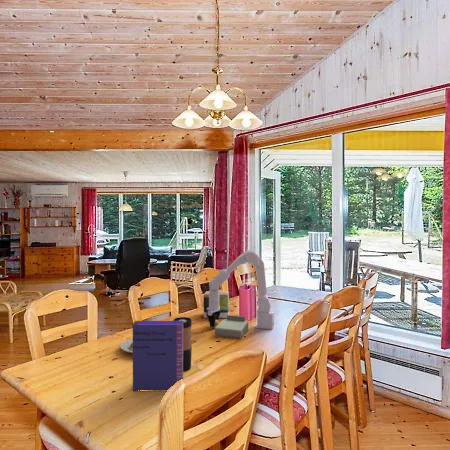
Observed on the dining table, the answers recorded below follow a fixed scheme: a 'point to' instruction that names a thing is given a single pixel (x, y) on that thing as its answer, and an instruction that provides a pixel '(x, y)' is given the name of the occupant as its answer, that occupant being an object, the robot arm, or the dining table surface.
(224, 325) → the lid
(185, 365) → the travel mug
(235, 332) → the box
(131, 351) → the food on plate
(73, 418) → the dining table surface
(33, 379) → the dining table surface
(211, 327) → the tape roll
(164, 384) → the purple book
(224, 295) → the tea box
